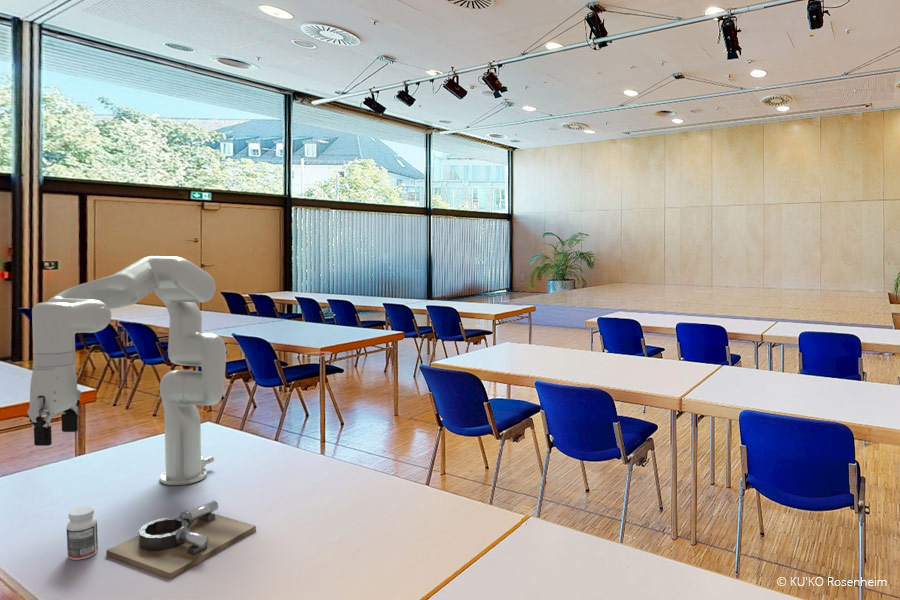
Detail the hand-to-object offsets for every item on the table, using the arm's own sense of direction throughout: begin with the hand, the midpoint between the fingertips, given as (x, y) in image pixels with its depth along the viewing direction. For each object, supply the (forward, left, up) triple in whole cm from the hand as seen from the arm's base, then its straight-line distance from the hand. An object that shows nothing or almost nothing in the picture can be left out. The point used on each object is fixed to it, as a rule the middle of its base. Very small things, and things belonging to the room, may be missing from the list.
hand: (57, 438), depth 132 cm
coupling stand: (-16, +20, -26) cm, 36 cm away
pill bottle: (-2, +5, -26) cm, 26 cm away
